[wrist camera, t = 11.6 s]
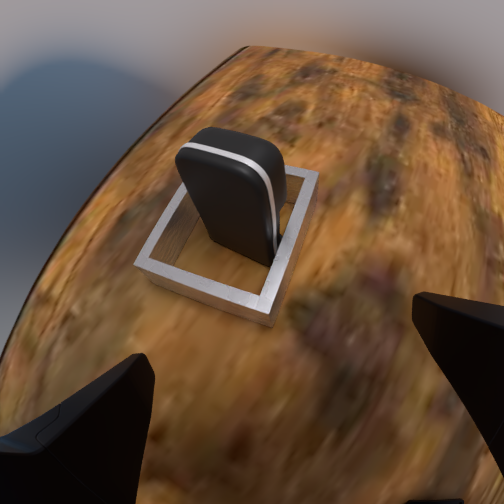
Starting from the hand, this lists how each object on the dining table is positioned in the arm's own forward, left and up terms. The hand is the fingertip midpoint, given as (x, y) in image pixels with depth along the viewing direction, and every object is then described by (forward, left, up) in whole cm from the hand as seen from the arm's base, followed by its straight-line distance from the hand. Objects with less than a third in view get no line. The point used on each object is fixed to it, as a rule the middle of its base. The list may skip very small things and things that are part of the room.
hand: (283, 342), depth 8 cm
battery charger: (+7, -10, -14) cm, 18 cm away
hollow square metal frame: (+8, -9, -13) cm, 18 cm away
